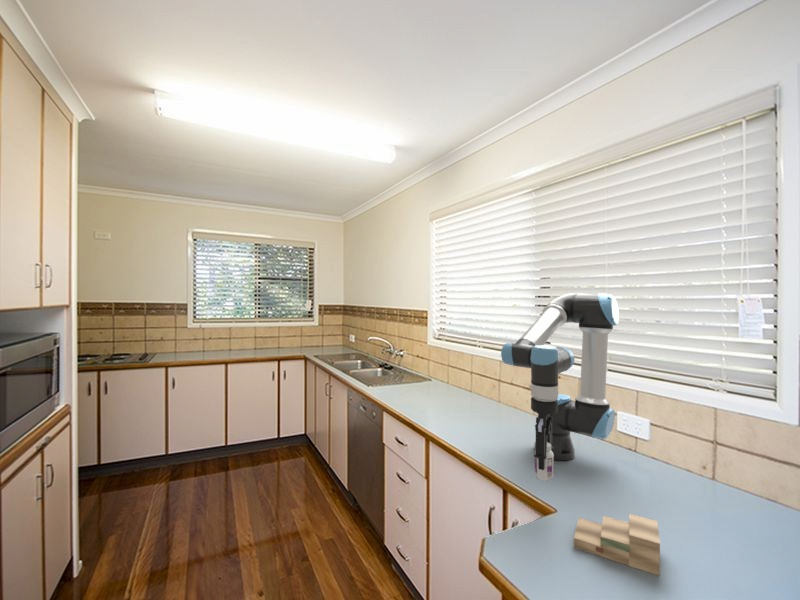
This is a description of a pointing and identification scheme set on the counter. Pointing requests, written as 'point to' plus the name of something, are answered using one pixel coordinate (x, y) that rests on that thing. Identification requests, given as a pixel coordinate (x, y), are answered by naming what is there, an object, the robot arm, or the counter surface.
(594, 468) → the counter surface
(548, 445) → the pill bottle
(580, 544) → the stepped stand
